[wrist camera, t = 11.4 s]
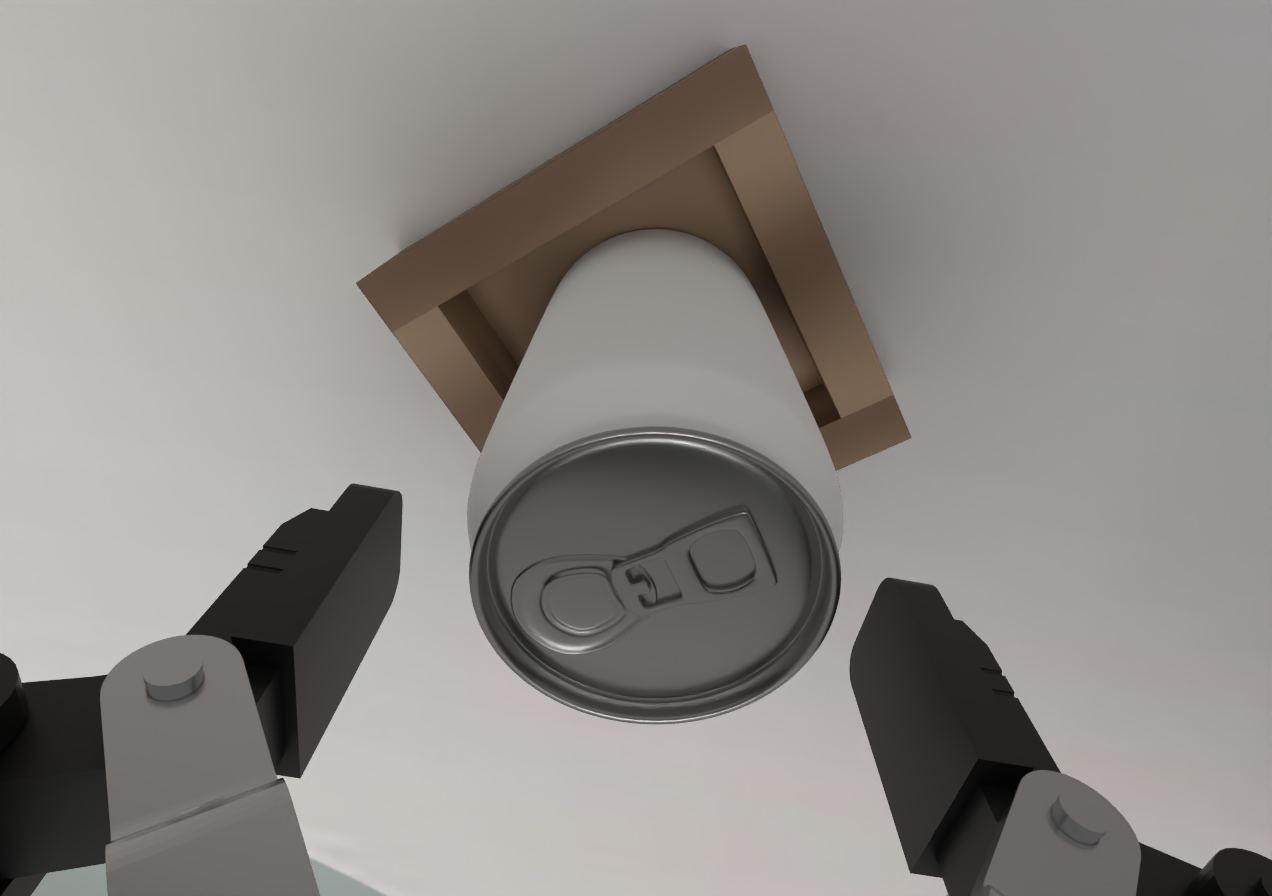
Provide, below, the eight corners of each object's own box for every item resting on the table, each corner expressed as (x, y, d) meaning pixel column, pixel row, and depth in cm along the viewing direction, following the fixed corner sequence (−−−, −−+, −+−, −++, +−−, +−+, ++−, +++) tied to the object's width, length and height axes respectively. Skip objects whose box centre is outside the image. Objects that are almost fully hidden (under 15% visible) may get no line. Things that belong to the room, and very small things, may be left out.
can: (508, 278, 21) (354, 497, 10) (718, 186, 19) (795, 324, 9) (601, 459, 23) (556, 780, 13) (790, 388, 22) (916, 682, 11)
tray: (877, 388, 23) (911, 437, 20) (586, 521, 26) (577, 583, 23) (730, 49, 19) (745, 43, 16) (399, 252, 21) (356, 283, 18)
